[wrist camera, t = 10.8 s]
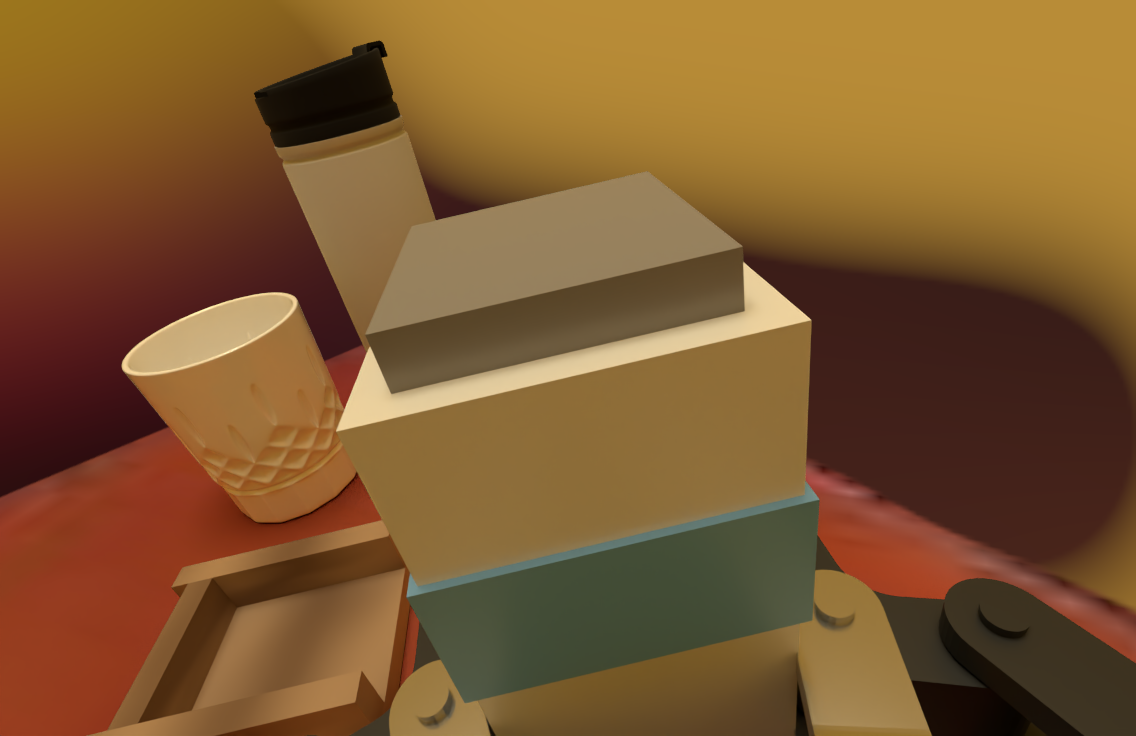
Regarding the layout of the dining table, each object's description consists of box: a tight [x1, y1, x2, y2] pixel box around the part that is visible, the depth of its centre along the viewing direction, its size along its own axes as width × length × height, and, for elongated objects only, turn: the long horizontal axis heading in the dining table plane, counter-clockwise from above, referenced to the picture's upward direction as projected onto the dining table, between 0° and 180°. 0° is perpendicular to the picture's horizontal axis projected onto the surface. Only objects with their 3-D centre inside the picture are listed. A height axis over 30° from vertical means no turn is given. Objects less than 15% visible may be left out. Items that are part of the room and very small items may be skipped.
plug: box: [336, 172, 819, 736], centre depth 10 cm, size 4×4×15 cm
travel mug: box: [254, 41, 436, 352], centre depth 31 cm, size 6×7×20 cm
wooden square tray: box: [88, 520, 410, 736], centre depth 21 cm, size 9×9×3 cm
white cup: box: [122, 293, 357, 523], centre depth 29 cm, size 8×8×10 cm
